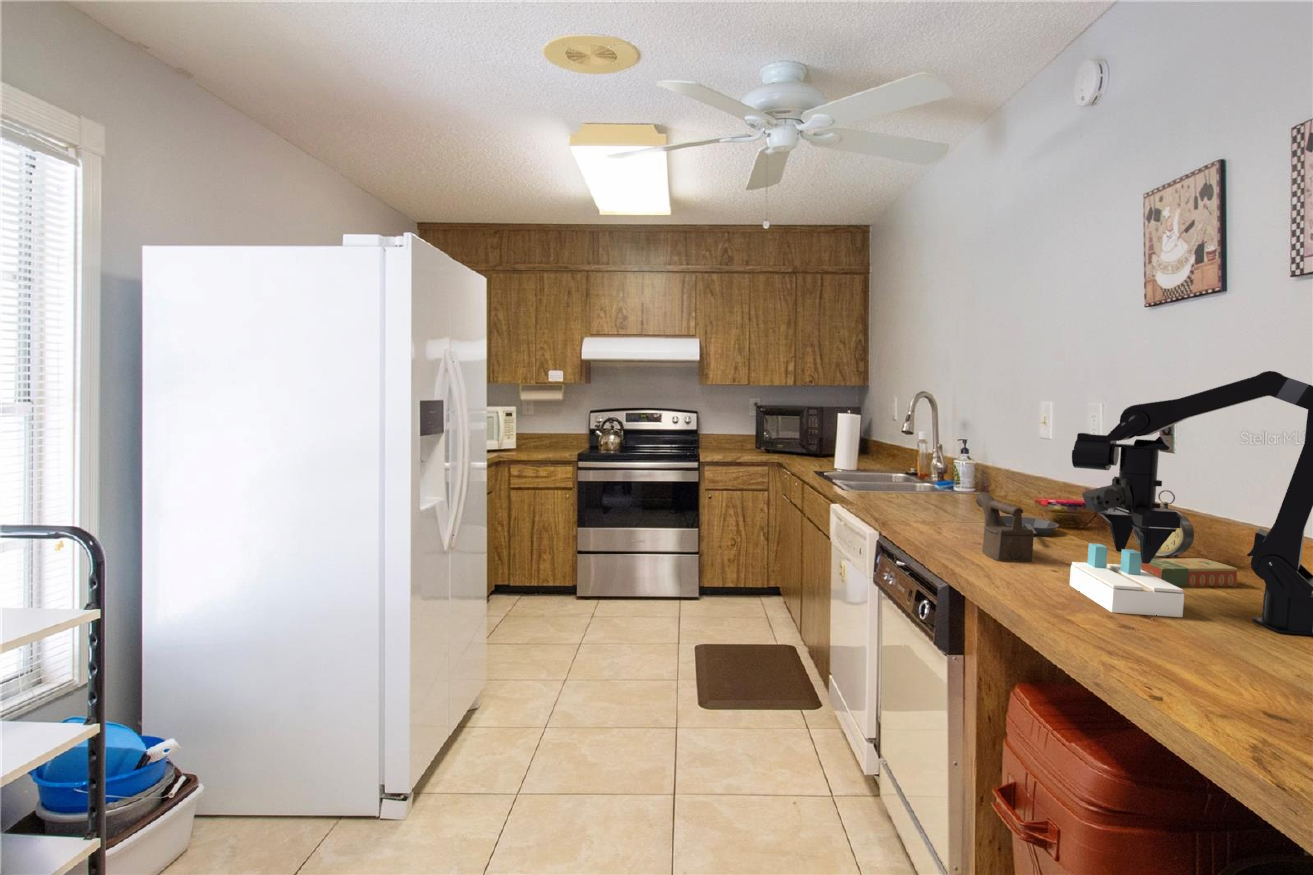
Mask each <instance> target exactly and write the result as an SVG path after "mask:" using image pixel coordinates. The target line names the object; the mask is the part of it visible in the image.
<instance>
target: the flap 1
mask: <svg viewBox="0 0 1313 875" xmlns="http://www.w3.org/2000/svg"><path fill="white" fill-rule="evenodd" d="M1087 548H1088V550H1087V562H1084V561H1083V562H1080V561H1071V565H1074V566H1076V567H1077V568H1079V569H1081V570H1083V571H1084V572H1086V573H1088V574H1090V575H1091V576H1093V577H1095V578H1097V579H1098V580H1100V581H1102V582H1104V583H1105V584H1107V585H1109V586H1111V587H1112V588H1118V589H1133V590H1142V588H1143V587H1141V586H1139V585H1137V584H1136V583H1134V582H1132V581H1130V580H1128V579H1126V578H1124V577H1122V576H1120V575H1118V574H1116V573H1115V572H1113V571H1111V570H1109V569H1107V568H1106V567H1107V557H1108V546H1106V545H1104V544H1101V543H1092V542H1091V543H1088V547H1087Z"/></svg>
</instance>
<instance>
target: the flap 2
mask: <svg viewBox="0 0 1313 875" xmlns="http://www.w3.org/2000/svg"><path fill="white" fill-rule="evenodd" d="M1120 554H1121V555H1120V564H1114V563H1106V567H1109V568H1111V569H1113V570H1115V571H1117V572H1119V573H1121V574H1123V575H1124V576H1126V577H1128V578H1130V579H1132V580H1134V581H1136V582H1138V583H1140V584H1142V585H1144V586H1146V587H1148V588H1149V589H1151V590H1153V591H1165V592H1181V593H1183V594H1184V589H1182V588H1180V586H1174V585H1172V584H1170V583H1168V582H1166V581H1164V580H1162V579H1160V578H1158V577H1156V576H1154V575H1152V574H1149V573H1147V572H1145V571H1143V570H1141V552H1140V551H1137V550H1135V549H1128V548H1127V549H1126V548H1125V549H1122V552H1120Z"/></svg>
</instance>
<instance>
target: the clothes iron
mask: <svg viewBox="0 0 1313 875" xmlns="http://www.w3.org/2000/svg"><path fill="white" fill-rule="evenodd" d="M975 503H976V504H977V506H978V507H979V508H982V510H983V513H984V527H983V528H984V530H983V541H982V550H981V552H982V554H984V555H985V556H986V557H988V558H990V559H992V560H994V561H998V562H1033V553H1034V552H1033V551H1034V537H1035V536H1034V533H1033V530H1030V529H1022V517H1023V513H1024V510H1023V509H1022V508H1021V507H1018V506H1013V505H1012V504H1009V503H1006V502H1002V501H1000V500H998V499H995V498H994V497H993V496H992V495H991V494H990V493H989V492H987V491H982V492H980V493H978V494H977V495H976V497H975ZM1000 512H1001V513H1002V514H1006V515H1008V516H1014V518H1013V524H1012V527H1009V526H1007V525H1006V524H1005V523H1004V522H1003V521H1002V519H1001V514H1000Z"/></svg>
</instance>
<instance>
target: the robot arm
mask: <svg viewBox="0 0 1313 875" xmlns="http://www.w3.org/2000/svg"><path fill="white" fill-rule="evenodd" d="M1265 397H1273V398H1274V399H1278V400H1281V401H1283V402H1286V403H1289V404H1292V405H1294V406H1296V407H1299V408H1303V409H1304V410H1305V409H1306V410H1307V416H1306V425H1305V434H1304V435H1305V436H1304V443H1303V446H1302V449H1301V451H1300V455H1299V457H1298V460H1297V461H1296V462H1297V463H1296V465H1295V468H1294V470H1293V473H1292V475H1291V478H1290V482H1289V483H1288V486H1287V488H1286V492H1285V495H1284V497H1283V500H1282V503H1281V505H1280V508H1279V511H1278V513H1277V516H1276V519H1275V522H1274V523H1273V525H1272V526H1271V528H1270V530H1269V531H1268V530H1265V529H1262V528H1259V529H1258V530H1257V531H1256V532H1255V533H1254V542H1253V546H1252V548H1251V549H1250V550H1249V552H1248V553H1247V555H1246V556H1247V557H1251V559H1250V567H1251V570H1252V572H1254V574H1255V575H1256V576H1257V577H1258V578H1260V579H1261V580H1263V581H1264V583H1265V585H1264V587H1265V588H1264V594H1263V601H1262V614H1261V617H1251V618H1252V619H1251V620H1252V621H1253V622H1255V623H1257V624H1260V625H1261V626H1263V627H1265V628H1268V629H1270V630H1272V631H1274V632H1276V633H1278V634H1290V635H1291V634H1292V635H1305V636H1313V574H1312V572H1311V571H1309V570H1308V569H1307V568H1306V567H1305V566H1304V565H1303V564H1302V556H1303V555H1302V554H1303V549H1304V537H1305V528H1306V525H1307V523H1308V520H1309V518H1310V515H1311V512H1312V510H1313V385H1312V384H1309V383H1305V382H1303V381H1299V380H1296V379H1294V378H1291V377H1287V376H1285V375H1283V374H1282V373H1280V372H1278V371H1274V370H1268V371H1263V372H1260V373H1258V374H1256V375H1255V376H1251V377H1248V378H1244V379H1240V380H1237V381H1234V382H1230V383H1227V384H1224V385H1220V386H1217V387H1214V388H1210V389H1207V390H1204V391H1201V392H1197V393H1192V394H1190V395H1186V396H1184V397H1183V396H1182V397H1179V398H1175V399H1169V400H1168V399H1167V400H1160V401H1153V402H1147V403H1139V404H1133V405H1130V406H1129V407H1126V408H1125V409H1124V410H1123V411H1122V413H1121V415H1120V417H1119V423H1118V424H1117V425H1116V426H1115V427H1114V428H1113V429H1112V430H1111V431H1110V432H1109V433H1108V434H1107V435H1106V434H1093V433H1090V432H1089V433H1088V432H1078V433H1077V434H1076V440H1075V442H1074V446H1073V449H1072V450H1071V462H1072V463H1071V464H1072V466H1073V468H1075V469H1088V470H1098V471H1110V469H1111V468H1112V466H1117V465H1118V462H1119V470H1118V471H1119V472H1118V476H1113V478H1112V479H1111V484H1109V485H1106V486H1101V487H1097V488H1094V489H1091V490H1088V491H1087V490H1086V491H1084V492H1082V493H1081V496H1082V498H1083V500H1084V504H1085V507H1086V509H1087V510H1088V511H1089V510H1090V511H1093V512H1094V513H1097V514H1098V515H1099V516H1101V517H1102V518H1103V519H1104V521H1106V522H1107V523H1108V526H1109V528H1110V532H1111V536H1112V541H1113V544H1114V548H1115V551H1116V552H1118V553H1121V552H1122V549H1126V546H1127V545H1128V542H1129V540H1130V537H1131V535H1132V532H1133V531H1134V529H1135V530H1136V531H1137V532H1138V533H1139V537H1140V546H1139V550H1140V551H1139V552H1140V553H1141V561H1142V563H1144V564H1149V563H1150V562H1151V560H1152V559H1153V558H1155V557H1156V556H1155V555H1156V553H1157V552H1158V550H1159V549H1160V548H1161V546H1162V545H1163V543H1164V542H1165V541H1166V540H1167V539H1168V537H1169V536H1170V535H1171V534H1172V533H1173V532H1176V529H1175V528H1181V526H1182V517H1181V516H1180V515H1179V514H1178V513H1177V512H1175V511H1172V510H1173V509H1172V510H1169V509H1170V508H1168V509H1163V507H1162V508H1161V503H1160V502H1156V496H1157V495H1156V494H1157V487H1162V486H1163V481H1162V480H1160V479H1157V478H1158V468H1159V454H1160V451H1171V450H1172V449H1173V448H1174V446H1173V445H1171V443H1169V442H1168V441H1167V440H1166V439H1165V437H1164V436H1162V435H1161V436H1158V437H1157V438H1156V439H1143V438H1142V439H1140V438H1139V439H1138V438H1136V439H1135V440H1134V442H1133V444H1132V443H1131V444H1129V443H1118V442H1121V441H1126V440H1127V441H1128V440H1131V439H1133V438H1135V437H1145V436H1152V435H1154V434H1157V433H1158V432H1159V433H1160V432H1161V431H1163V430H1165V429H1168V428H1170V427H1173V426H1174V425H1176V424H1178V423H1180V422H1182V421H1185V420H1187V419H1189V418H1193V417H1196V416H1200V415H1204V414H1207V413H1212V412H1215V411H1218V410H1222V409H1226V408H1230V407H1232V406H1236V405H1240V404H1243V403H1247V402H1251V401H1254V400H1257V399H1261V398H1265ZM1119 456H1120V457H1119ZM1135 524H1137V525H1135Z"/></svg>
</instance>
